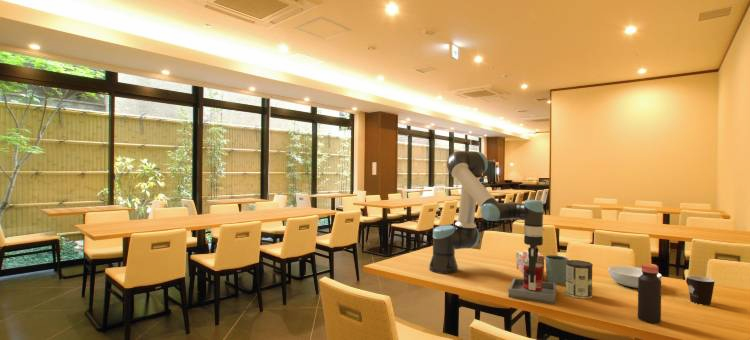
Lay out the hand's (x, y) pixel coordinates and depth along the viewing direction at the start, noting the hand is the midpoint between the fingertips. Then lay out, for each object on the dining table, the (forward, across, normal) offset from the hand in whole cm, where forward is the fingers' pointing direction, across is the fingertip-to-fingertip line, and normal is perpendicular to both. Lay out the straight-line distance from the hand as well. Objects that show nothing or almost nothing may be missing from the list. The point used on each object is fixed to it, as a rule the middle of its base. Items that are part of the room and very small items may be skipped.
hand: (532, 286), depth 162 cm
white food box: (+4, +34, +4) cm, 34 cm away
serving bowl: (+3, +37, -42) cm, 56 cm away
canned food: (+1, 0, 0) cm, 1 cm away
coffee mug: (+3, +24, -63) cm, 68 cm away
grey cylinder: (+3, +25, -9) cm, 27 cm away
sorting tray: (+3, 0, 0) cm, 3 cm away
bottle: (+3, -10, -40) cm, 41 cm away
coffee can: (+3, +9, -18) cm, 21 cm away
